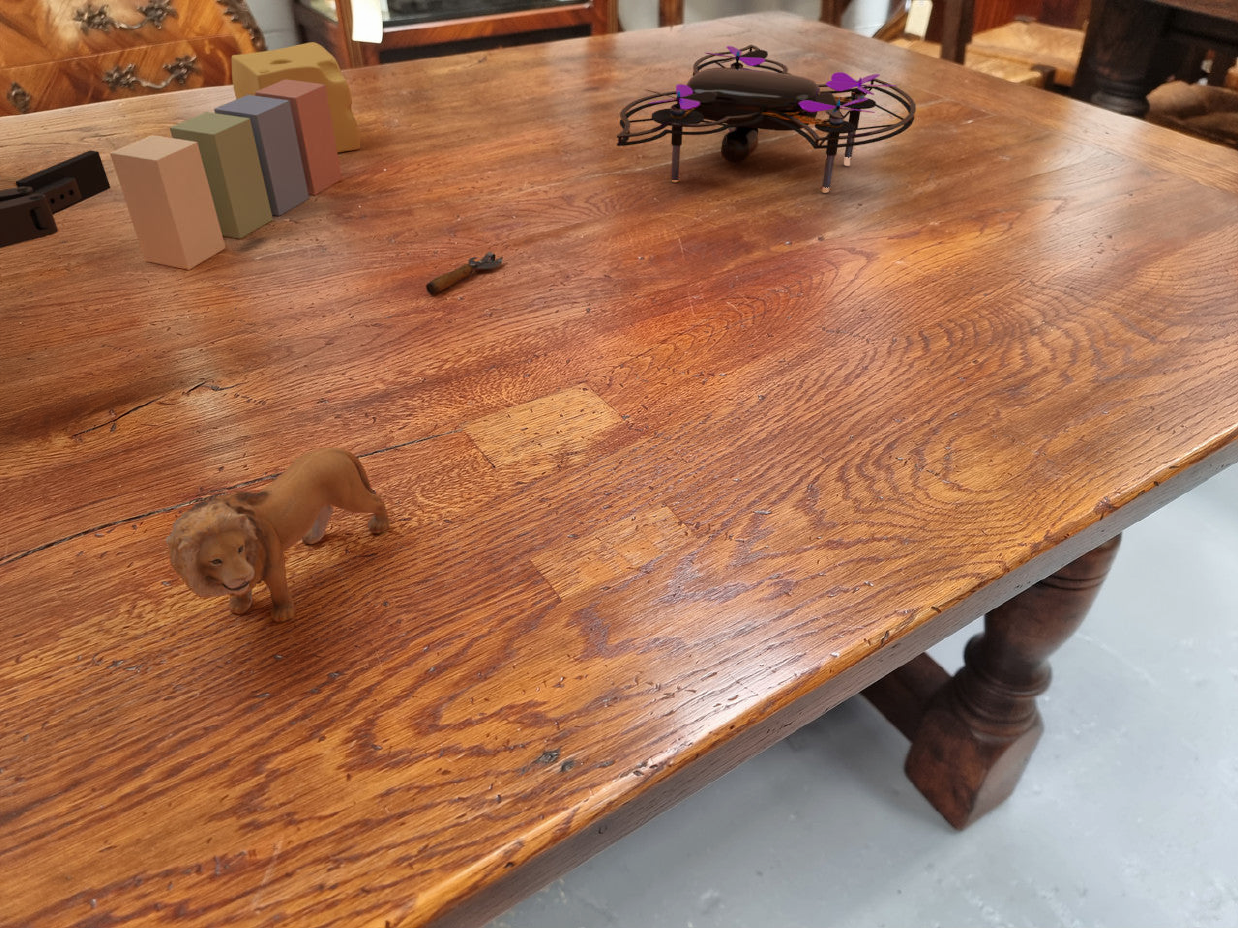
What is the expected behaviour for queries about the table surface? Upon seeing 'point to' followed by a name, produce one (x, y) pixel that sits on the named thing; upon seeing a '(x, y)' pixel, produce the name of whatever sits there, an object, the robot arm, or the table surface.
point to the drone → (764, 108)
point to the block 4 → (310, 130)
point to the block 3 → (274, 148)
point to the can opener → (462, 272)
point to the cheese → (306, 67)
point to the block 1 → (169, 200)
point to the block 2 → (230, 170)
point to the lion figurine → (268, 528)
